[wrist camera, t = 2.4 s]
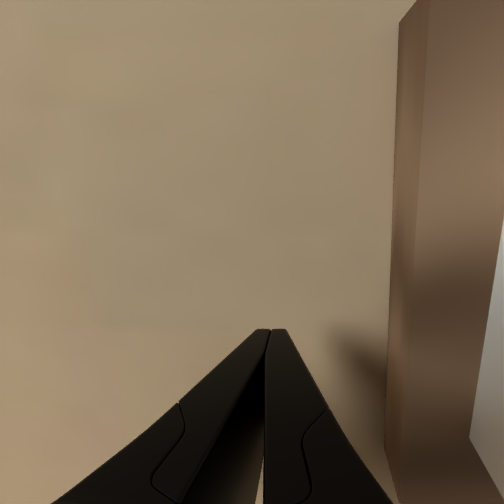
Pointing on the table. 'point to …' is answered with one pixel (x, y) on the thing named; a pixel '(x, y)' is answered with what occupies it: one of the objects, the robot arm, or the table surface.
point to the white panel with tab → (492, 384)
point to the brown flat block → (443, 245)
